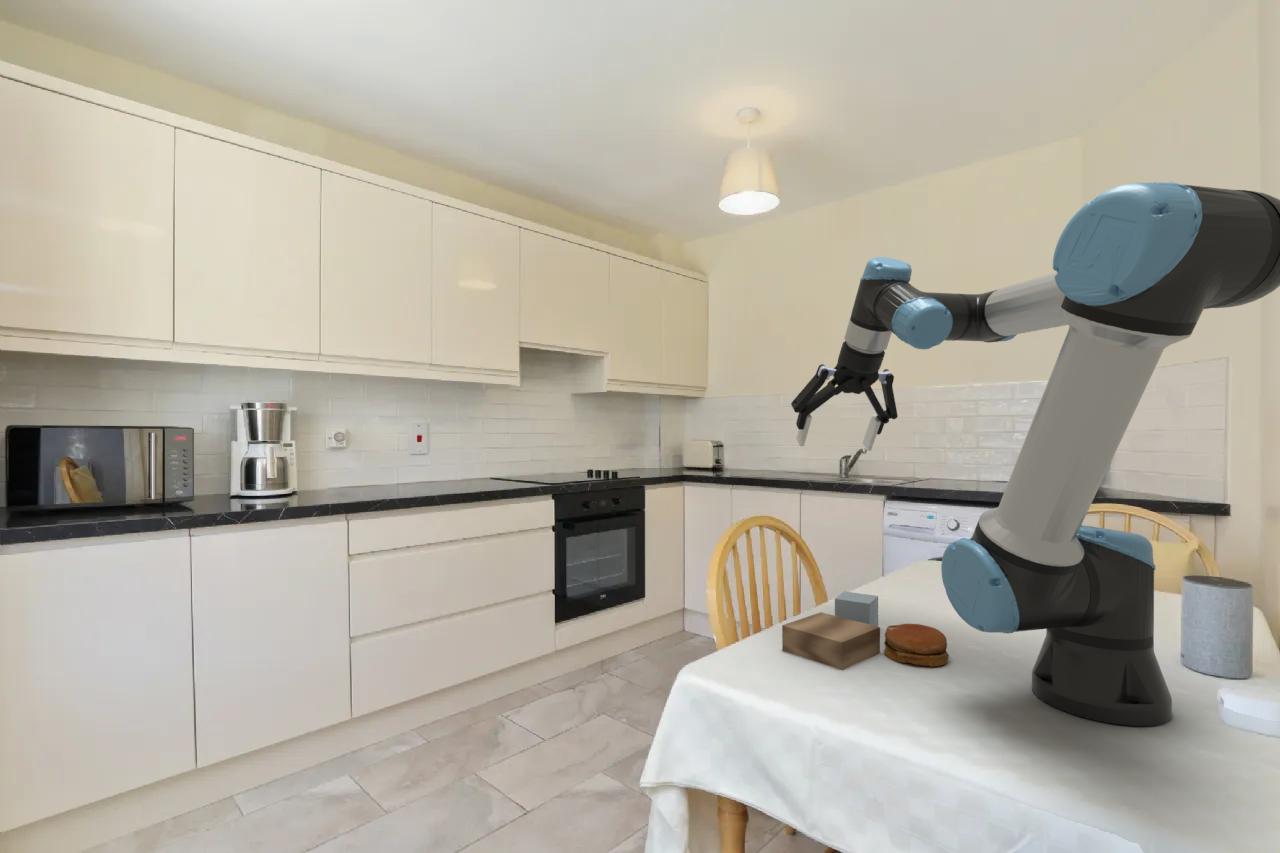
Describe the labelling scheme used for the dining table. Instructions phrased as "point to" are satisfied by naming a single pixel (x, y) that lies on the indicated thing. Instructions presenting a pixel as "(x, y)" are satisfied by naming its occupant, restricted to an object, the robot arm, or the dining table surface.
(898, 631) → the burger
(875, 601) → the slate cube
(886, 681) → the dining table surface
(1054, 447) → the robot arm
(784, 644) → the walnut block
